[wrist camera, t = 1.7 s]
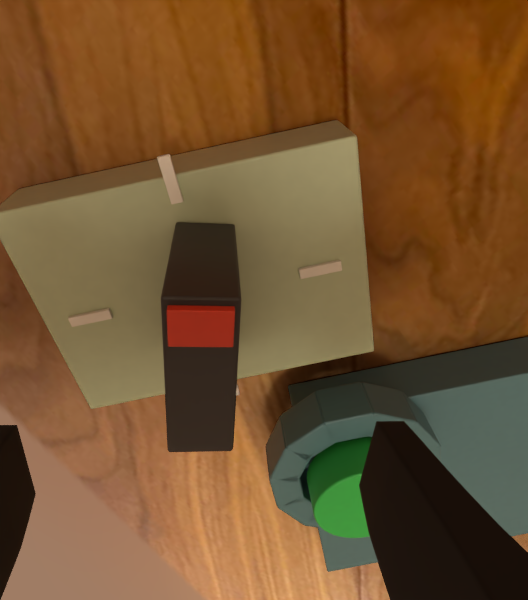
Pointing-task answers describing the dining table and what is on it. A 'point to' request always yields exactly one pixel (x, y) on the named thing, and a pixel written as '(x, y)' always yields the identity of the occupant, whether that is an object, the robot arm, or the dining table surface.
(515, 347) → the switch box
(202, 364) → the dimmer knob
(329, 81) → the dining table surface
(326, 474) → the light button
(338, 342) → the dimmer panel
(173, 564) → the dining table surface
